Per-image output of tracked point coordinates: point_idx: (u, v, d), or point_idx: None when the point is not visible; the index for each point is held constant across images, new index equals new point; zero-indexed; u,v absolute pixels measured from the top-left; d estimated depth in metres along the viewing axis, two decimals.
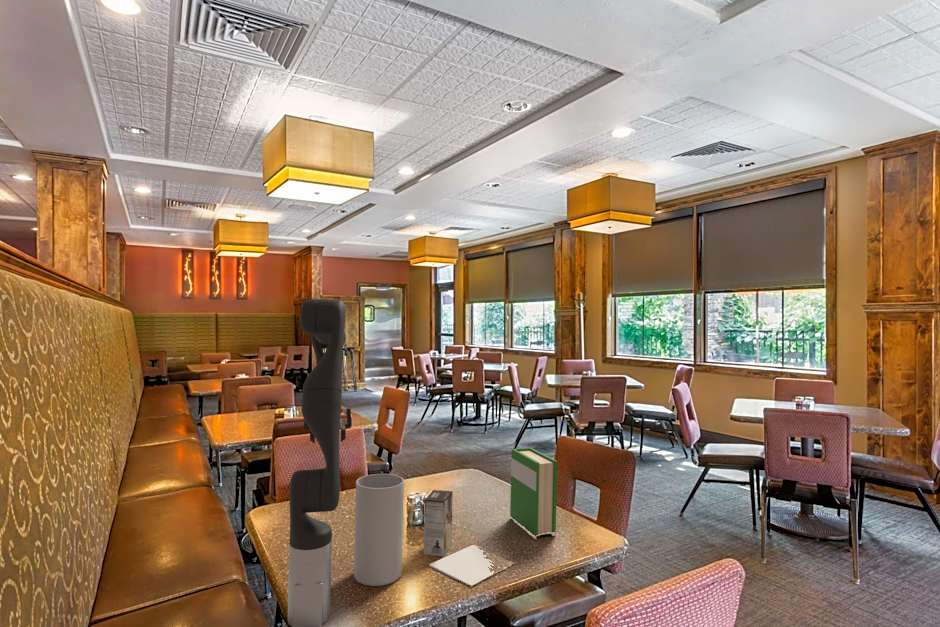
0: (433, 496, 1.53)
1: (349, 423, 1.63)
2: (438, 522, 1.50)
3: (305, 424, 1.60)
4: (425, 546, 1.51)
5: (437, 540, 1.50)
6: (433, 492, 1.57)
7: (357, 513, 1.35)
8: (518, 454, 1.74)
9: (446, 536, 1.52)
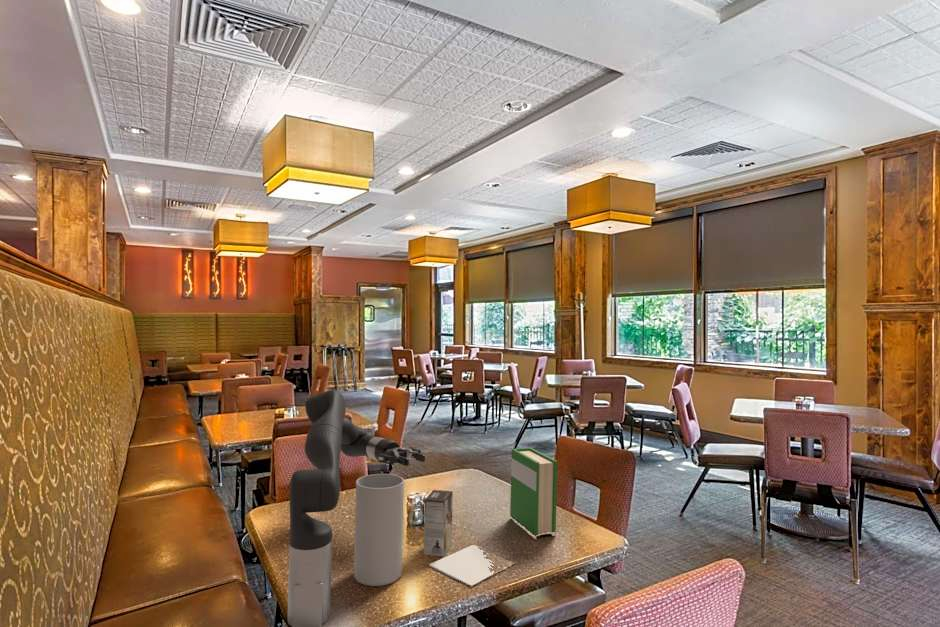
0: (433, 496, 1.53)
1: (418, 450, 1.70)
2: (438, 522, 1.50)
3: (389, 456, 1.62)
4: (425, 546, 1.51)
5: (437, 540, 1.50)
6: (433, 492, 1.57)
7: (357, 513, 1.35)
8: (518, 454, 1.74)
9: (446, 536, 1.52)
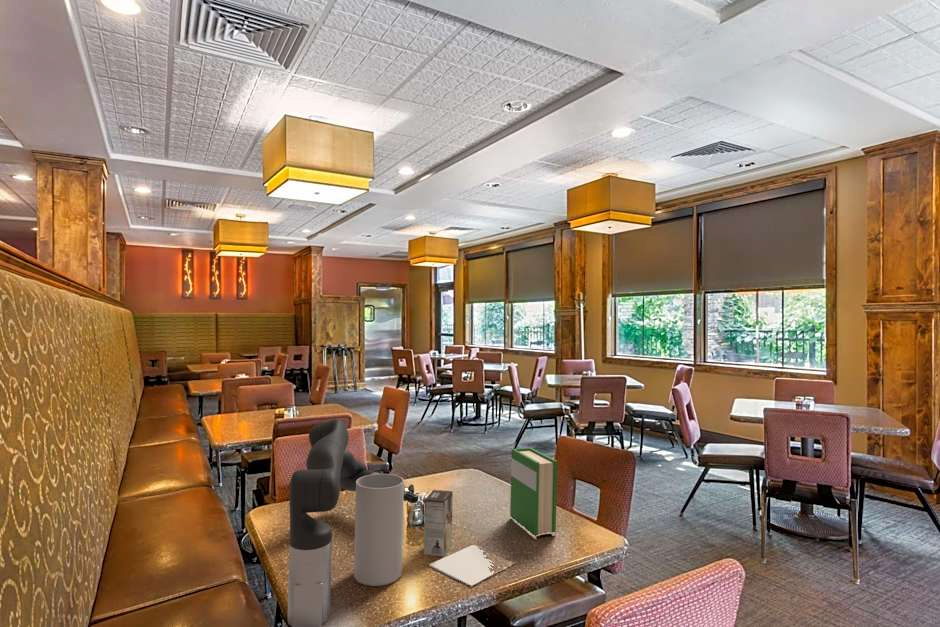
0: (433, 496, 1.53)
1: (412, 489, 1.67)
2: (438, 522, 1.50)
3: None
4: (425, 546, 1.51)
5: (437, 540, 1.50)
6: (433, 492, 1.57)
7: (357, 513, 1.35)
8: (518, 454, 1.74)
9: (446, 536, 1.52)
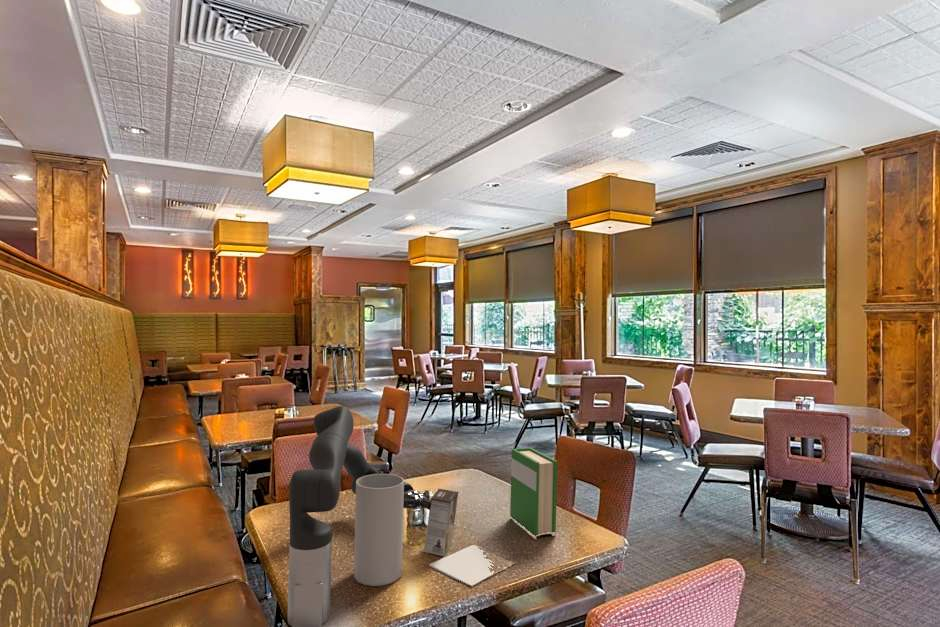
0: (439, 495, 1.53)
1: (427, 495, 1.62)
2: (442, 522, 1.50)
3: (412, 500, 1.58)
4: (426, 544, 1.51)
5: (439, 539, 1.50)
6: (439, 491, 1.57)
7: (357, 513, 1.35)
8: (518, 454, 1.74)
9: (448, 537, 1.52)
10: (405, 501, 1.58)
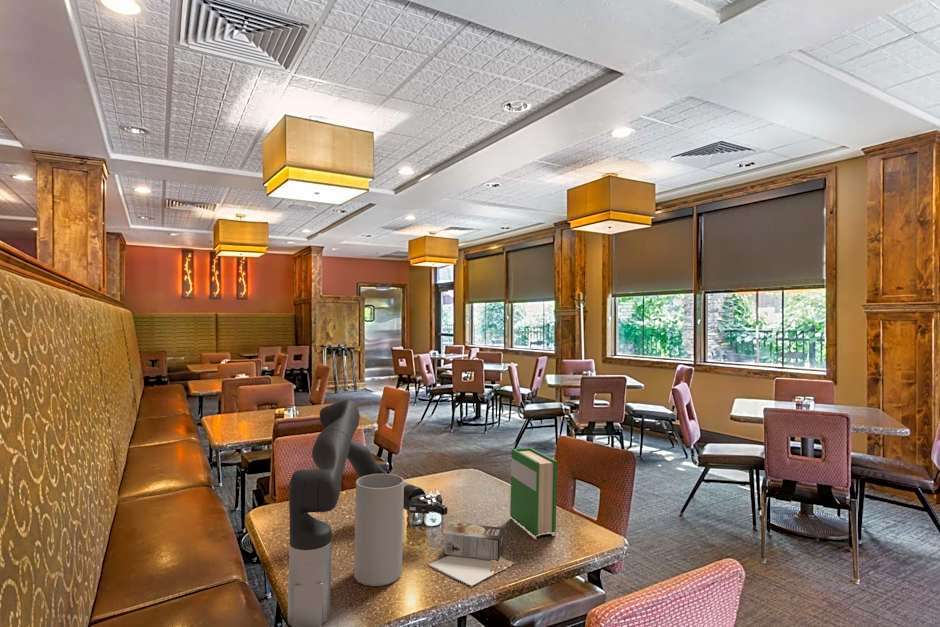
0: (501, 542, 1.49)
1: (440, 499, 1.59)
2: (477, 552, 1.47)
3: (424, 504, 1.54)
4: (452, 535, 1.49)
5: (459, 549, 1.49)
6: (502, 533, 1.52)
7: (357, 513, 1.35)
8: (518, 454, 1.74)
9: None
10: (417, 506, 1.54)
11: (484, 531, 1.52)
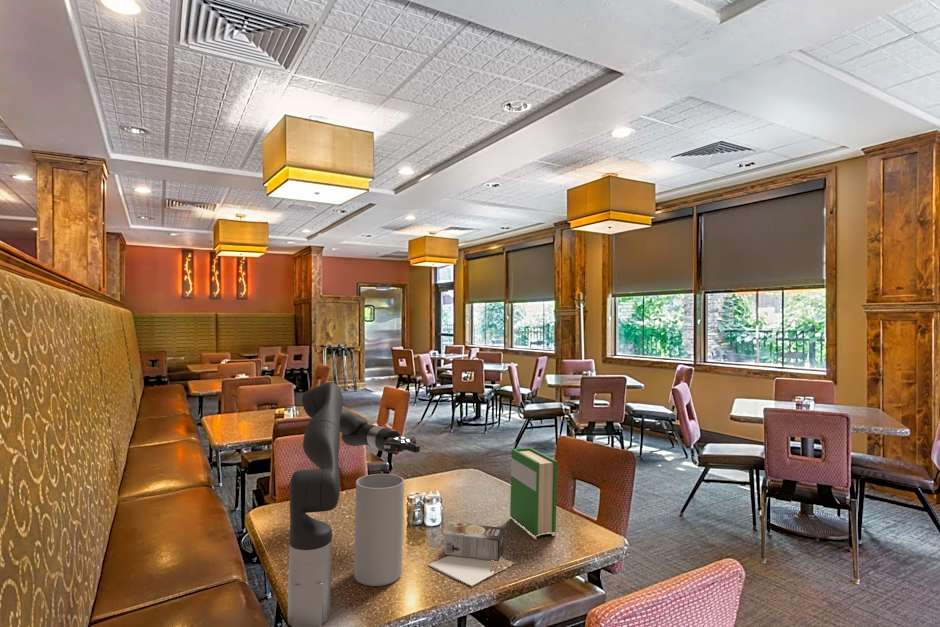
0: (501, 542, 1.49)
1: (414, 440, 1.67)
2: (477, 552, 1.47)
3: (398, 443, 1.63)
4: (452, 536, 1.49)
5: (459, 549, 1.49)
6: (502, 533, 1.52)
7: (357, 513, 1.35)
8: (518, 454, 1.74)
9: None
10: (391, 444, 1.63)
11: (484, 531, 1.52)
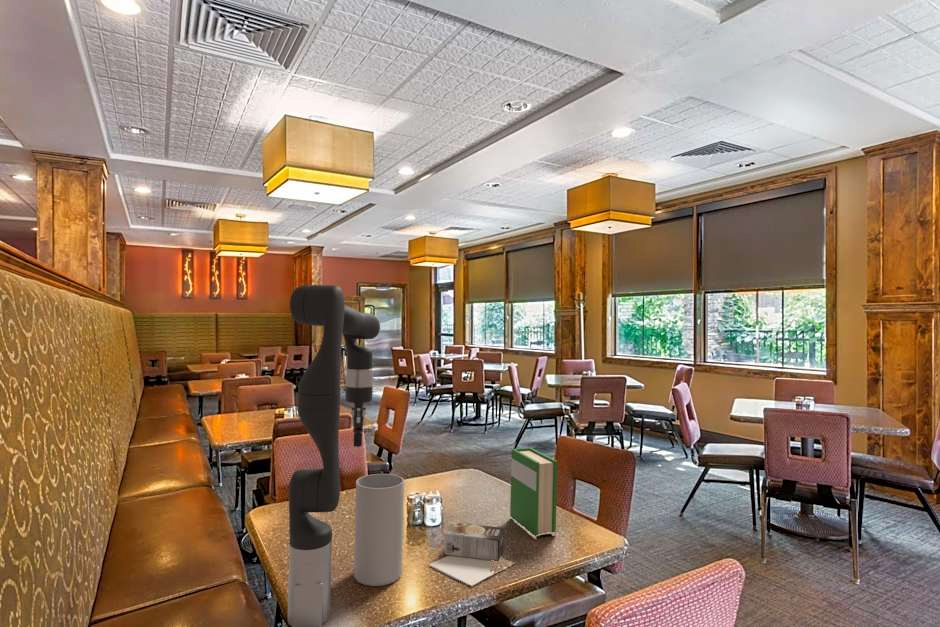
0: (501, 542, 1.49)
1: None
2: (477, 552, 1.47)
3: (362, 428, 1.45)
4: (452, 536, 1.49)
5: (459, 549, 1.49)
6: (502, 533, 1.52)
7: (357, 513, 1.35)
8: (518, 454, 1.74)
9: None
10: (361, 424, 1.44)
11: (484, 531, 1.52)
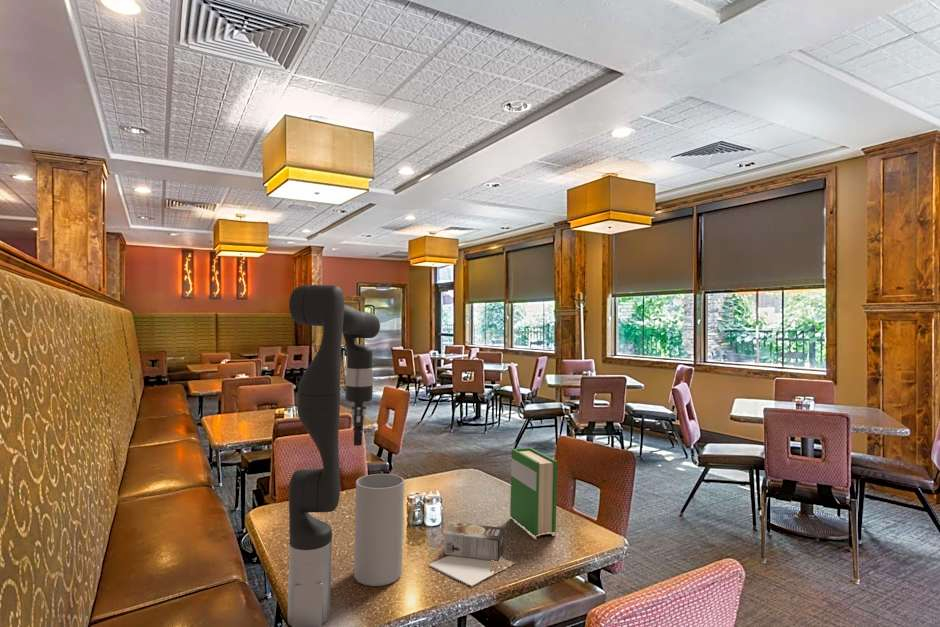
0: (501, 542, 1.49)
1: None
2: (477, 552, 1.47)
3: (362, 427, 1.45)
4: (452, 536, 1.49)
5: (459, 549, 1.49)
6: (502, 533, 1.52)
7: (357, 513, 1.35)
8: (518, 454, 1.74)
9: None
10: (361, 424, 1.43)
11: (484, 531, 1.52)
